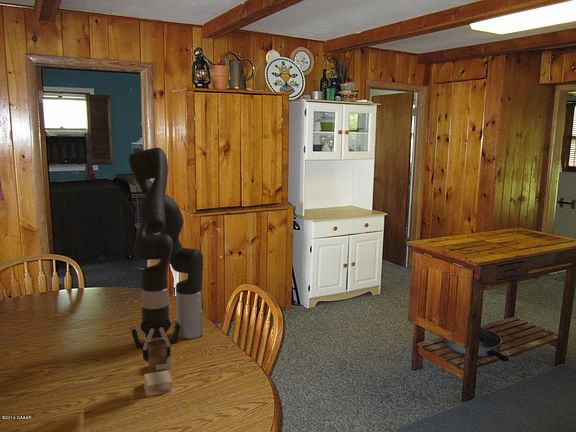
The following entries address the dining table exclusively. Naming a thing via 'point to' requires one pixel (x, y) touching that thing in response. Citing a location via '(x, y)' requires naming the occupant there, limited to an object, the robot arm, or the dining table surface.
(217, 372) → the dining table surface
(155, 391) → the maple slab
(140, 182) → the robot arm
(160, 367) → the sage block
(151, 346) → the walnut block
